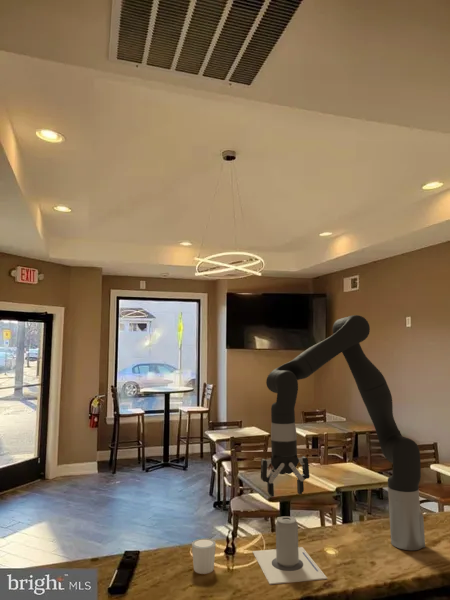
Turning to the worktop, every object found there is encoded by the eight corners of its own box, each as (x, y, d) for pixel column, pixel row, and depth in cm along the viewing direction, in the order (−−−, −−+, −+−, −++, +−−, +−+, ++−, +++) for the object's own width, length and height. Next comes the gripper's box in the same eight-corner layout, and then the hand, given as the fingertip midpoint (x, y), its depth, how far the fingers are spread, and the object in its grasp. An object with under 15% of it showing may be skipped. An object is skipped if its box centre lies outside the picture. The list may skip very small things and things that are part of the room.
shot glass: (197, 577, 122) (197, 549, 123) (187, 566, 128) (187, 540, 129) (220, 571, 125) (219, 544, 126) (209, 561, 131) (209, 536, 132)
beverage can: (298, 558, 132) (296, 515, 133) (299, 568, 125) (298, 523, 127) (276, 557, 132) (275, 515, 134) (276, 567, 126) (275, 523, 127)
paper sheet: (302, 547, 140) (302, 546, 140) (327, 578, 120) (327, 577, 120) (252, 552, 137) (252, 550, 137) (269, 584, 118) (269, 582, 118)
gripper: (302, 434, 138) (304, 489, 136) (257, 437, 135) (259, 492, 133) (311, 439, 131) (313, 497, 128) (263, 441, 128) (265, 500, 126)
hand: (285, 494), depth 131 cm, fingers open, 8 cm apart
